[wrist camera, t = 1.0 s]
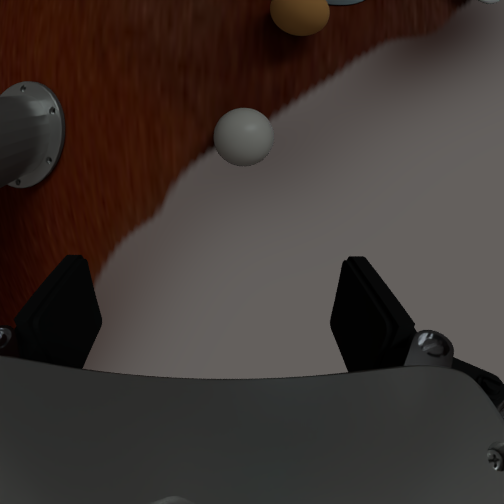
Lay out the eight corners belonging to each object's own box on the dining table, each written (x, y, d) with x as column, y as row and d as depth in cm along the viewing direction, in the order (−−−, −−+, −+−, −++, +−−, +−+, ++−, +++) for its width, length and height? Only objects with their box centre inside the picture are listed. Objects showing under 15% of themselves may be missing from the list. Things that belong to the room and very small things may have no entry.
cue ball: (225, 168, 30) (225, 180, 26) (206, 118, 28) (203, 121, 23) (276, 150, 30) (286, 160, 25) (259, 100, 28) (267, 99, 23)
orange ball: (276, 45, 25) (287, 34, 20) (259, 1, 22) (266, -18, 18) (326, 35, 25) (346, 24, 20) (309, -8, 22) (325, -26, 17)
